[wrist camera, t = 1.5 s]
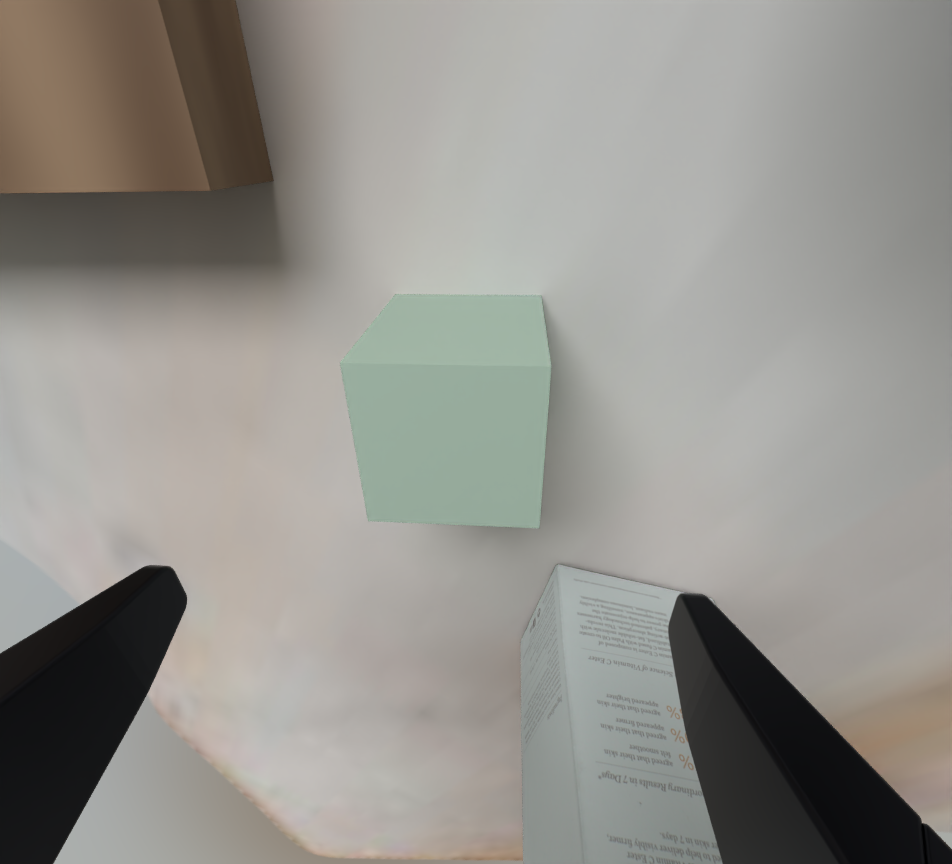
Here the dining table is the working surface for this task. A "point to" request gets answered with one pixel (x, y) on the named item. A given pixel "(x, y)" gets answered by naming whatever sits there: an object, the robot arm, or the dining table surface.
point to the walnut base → (126, 97)
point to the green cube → (451, 409)
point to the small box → (606, 730)
